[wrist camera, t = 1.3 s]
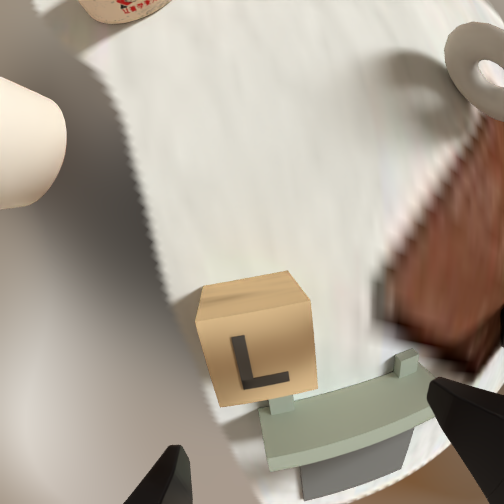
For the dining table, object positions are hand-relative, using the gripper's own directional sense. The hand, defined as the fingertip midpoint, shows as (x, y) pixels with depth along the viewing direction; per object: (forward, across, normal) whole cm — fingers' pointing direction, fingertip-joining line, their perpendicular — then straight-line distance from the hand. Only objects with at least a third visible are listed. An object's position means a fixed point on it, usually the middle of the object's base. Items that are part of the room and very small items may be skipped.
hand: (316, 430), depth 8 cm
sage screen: (+13, -6, +11) cm, 18 cm away
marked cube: (+13, +1, +1) cm, 13 cm away
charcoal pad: (+13, -8, +23) cm, 28 cm away
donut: (+13, -22, -16) cm, 30 cm away
